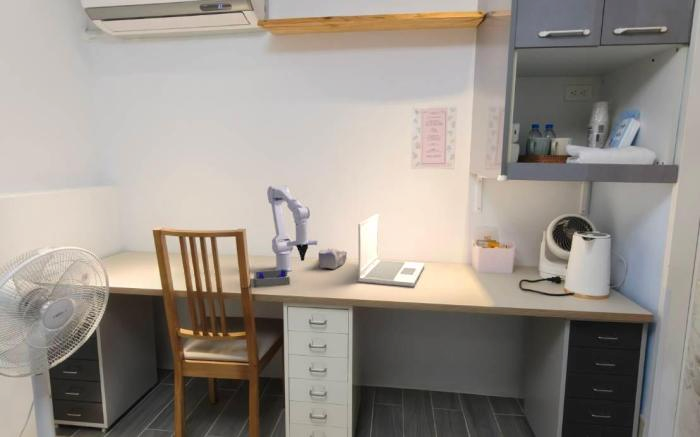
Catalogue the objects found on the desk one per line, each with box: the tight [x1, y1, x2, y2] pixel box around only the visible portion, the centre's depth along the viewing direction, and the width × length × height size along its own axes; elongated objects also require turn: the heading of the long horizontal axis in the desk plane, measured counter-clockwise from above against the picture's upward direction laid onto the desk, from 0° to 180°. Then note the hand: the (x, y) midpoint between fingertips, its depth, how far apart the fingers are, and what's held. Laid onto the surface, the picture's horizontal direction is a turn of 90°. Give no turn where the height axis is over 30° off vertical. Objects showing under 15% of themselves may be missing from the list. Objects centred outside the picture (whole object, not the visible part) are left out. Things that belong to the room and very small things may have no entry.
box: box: [253, 269, 291, 288], centre depth 190 cm, size 14×16×4 cm
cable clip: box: [259, 269, 286, 279], centre depth 187 cm, size 12×4×6 cm, turn 110°
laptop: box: [357, 213, 425, 288], centre depth 198 cm, size 35×26×28 cm
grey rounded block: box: [318, 248, 348, 270], centre depth 217 cm, size 13×11×20 cm
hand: (302, 260), depth 192 cm, fingers closed
